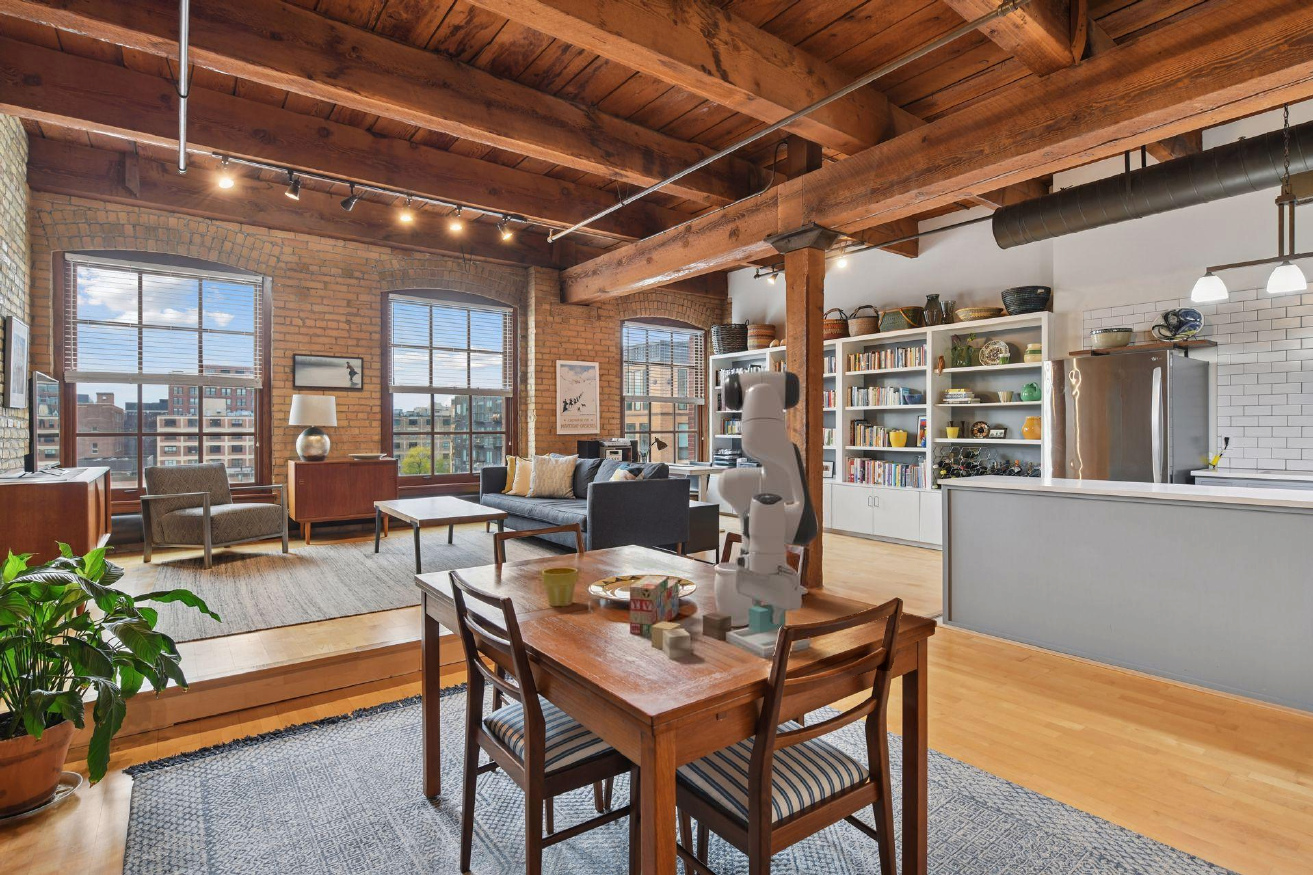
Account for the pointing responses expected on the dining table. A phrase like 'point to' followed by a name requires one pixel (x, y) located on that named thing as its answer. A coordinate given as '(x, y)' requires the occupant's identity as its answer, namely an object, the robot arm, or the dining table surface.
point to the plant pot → (560, 585)
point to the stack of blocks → (652, 603)
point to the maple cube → (676, 643)
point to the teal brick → (764, 618)
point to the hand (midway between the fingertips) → (767, 620)
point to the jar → (730, 595)
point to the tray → (760, 641)
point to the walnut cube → (716, 625)
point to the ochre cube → (661, 632)
